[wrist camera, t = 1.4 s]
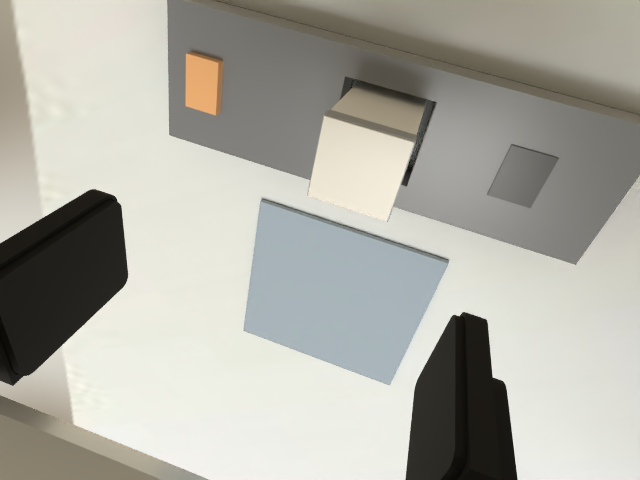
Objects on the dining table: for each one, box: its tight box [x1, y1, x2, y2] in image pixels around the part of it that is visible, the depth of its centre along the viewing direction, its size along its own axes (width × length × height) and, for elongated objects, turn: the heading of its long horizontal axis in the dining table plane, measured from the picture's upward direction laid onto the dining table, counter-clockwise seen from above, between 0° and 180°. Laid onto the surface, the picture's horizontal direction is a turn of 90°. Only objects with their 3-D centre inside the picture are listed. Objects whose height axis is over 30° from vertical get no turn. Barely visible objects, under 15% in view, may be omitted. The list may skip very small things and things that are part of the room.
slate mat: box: [244, 199, 449, 385], centre depth 34 cm, size 14×14×1 cm
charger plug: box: [307, 81, 427, 222], centre depth 22 cm, size 4×4×8 cm
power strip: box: [167, 0, 640, 265], centre depth 24 cm, size 26×8×3 cm, turn 79°
